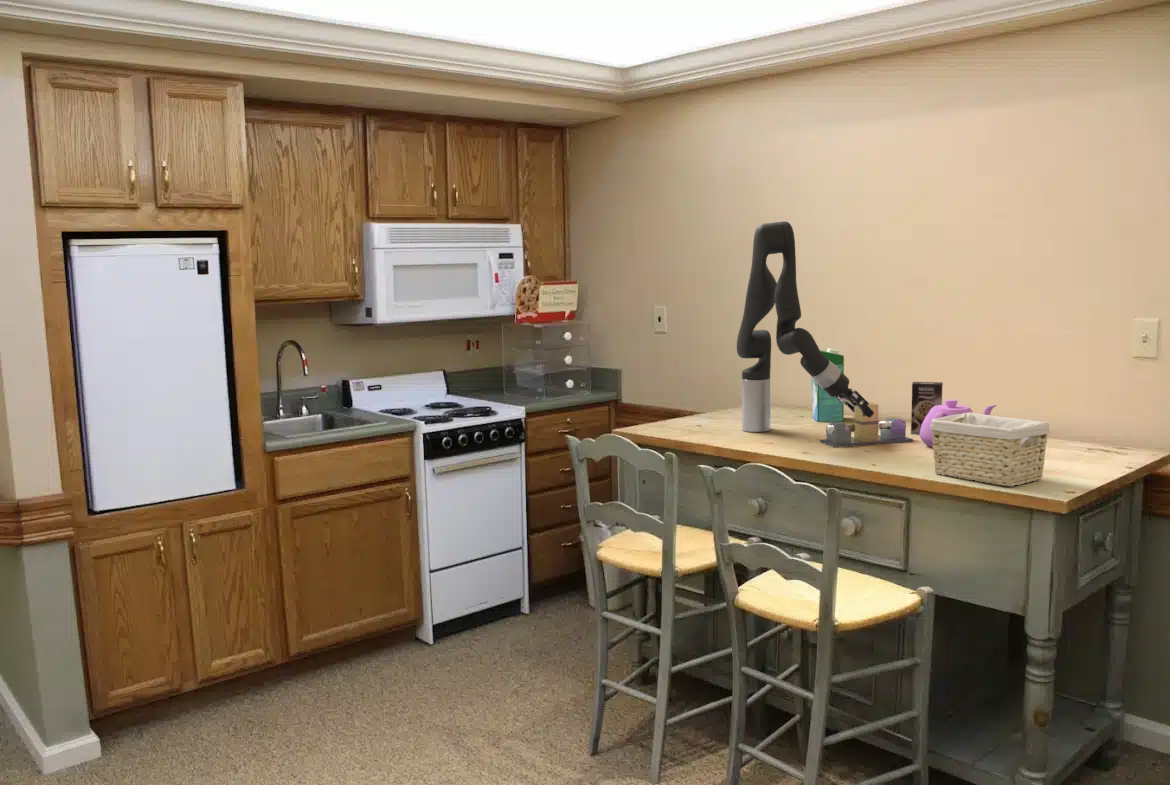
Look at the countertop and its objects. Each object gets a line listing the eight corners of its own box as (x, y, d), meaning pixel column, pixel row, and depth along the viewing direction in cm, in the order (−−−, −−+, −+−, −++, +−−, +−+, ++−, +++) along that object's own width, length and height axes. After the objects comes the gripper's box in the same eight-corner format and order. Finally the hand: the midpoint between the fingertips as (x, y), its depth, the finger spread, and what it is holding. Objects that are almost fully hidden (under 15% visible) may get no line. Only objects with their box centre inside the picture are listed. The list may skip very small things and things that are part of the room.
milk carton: (843, 421, 329) (844, 349, 326) (817, 421, 330) (817, 349, 326) (837, 417, 338) (837, 346, 335) (811, 417, 338) (811, 347, 335)
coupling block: (862, 441, 288) (862, 405, 286) (853, 438, 293) (853, 403, 292) (878, 440, 289) (878, 404, 288) (869, 437, 294) (869, 402, 293)
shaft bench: (833, 447, 284) (833, 425, 283) (819, 442, 293) (819, 421, 292) (912, 441, 290) (912, 420, 289) (896, 436, 298) (897, 415, 297)
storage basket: (926, 474, 247) (927, 417, 245) (966, 465, 255) (967, 410, 253) (1011, 490, 227) (1012, 429, 225) (1050, 480, 235) (1052, 421, 233)
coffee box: (910, 434, 302) (911, 383, 300) (911, 430, 308) (912, 381, 305) (941, 435, 298) (942, 384, 296) (941, 431, 304) (942, 381, 302)
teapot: (982, 457, 264) (983, 408, 262) (906, 449, 278) (906, 402, 277) (1009, 445, 280) (1011, 398, 278) (937, 437, 294) (937, 393, 293)
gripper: (849, 371, 279) (884, 407, 284) (827, 366, 293) (860, 400, 297) (832, 390, 279) (868, 426, 283) (811, 384, 293) (845, 418, 297)
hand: (864, 413), depth 290 cm, fingers open, 8 cm apart
